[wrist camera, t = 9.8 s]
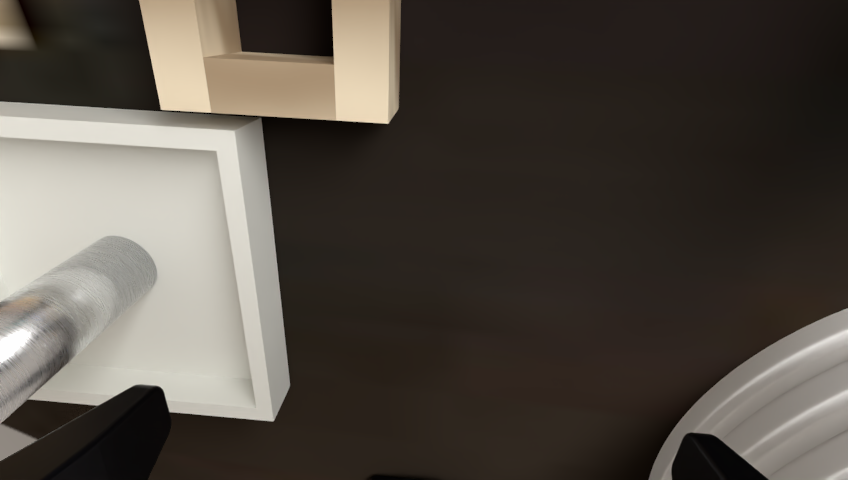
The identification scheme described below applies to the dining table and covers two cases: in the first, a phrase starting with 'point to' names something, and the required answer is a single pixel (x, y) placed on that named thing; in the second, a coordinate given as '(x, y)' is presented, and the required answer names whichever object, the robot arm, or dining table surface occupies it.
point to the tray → (153, 249)
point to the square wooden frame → (275, 63)
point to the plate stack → (780, 408)
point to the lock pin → (67, 313)
